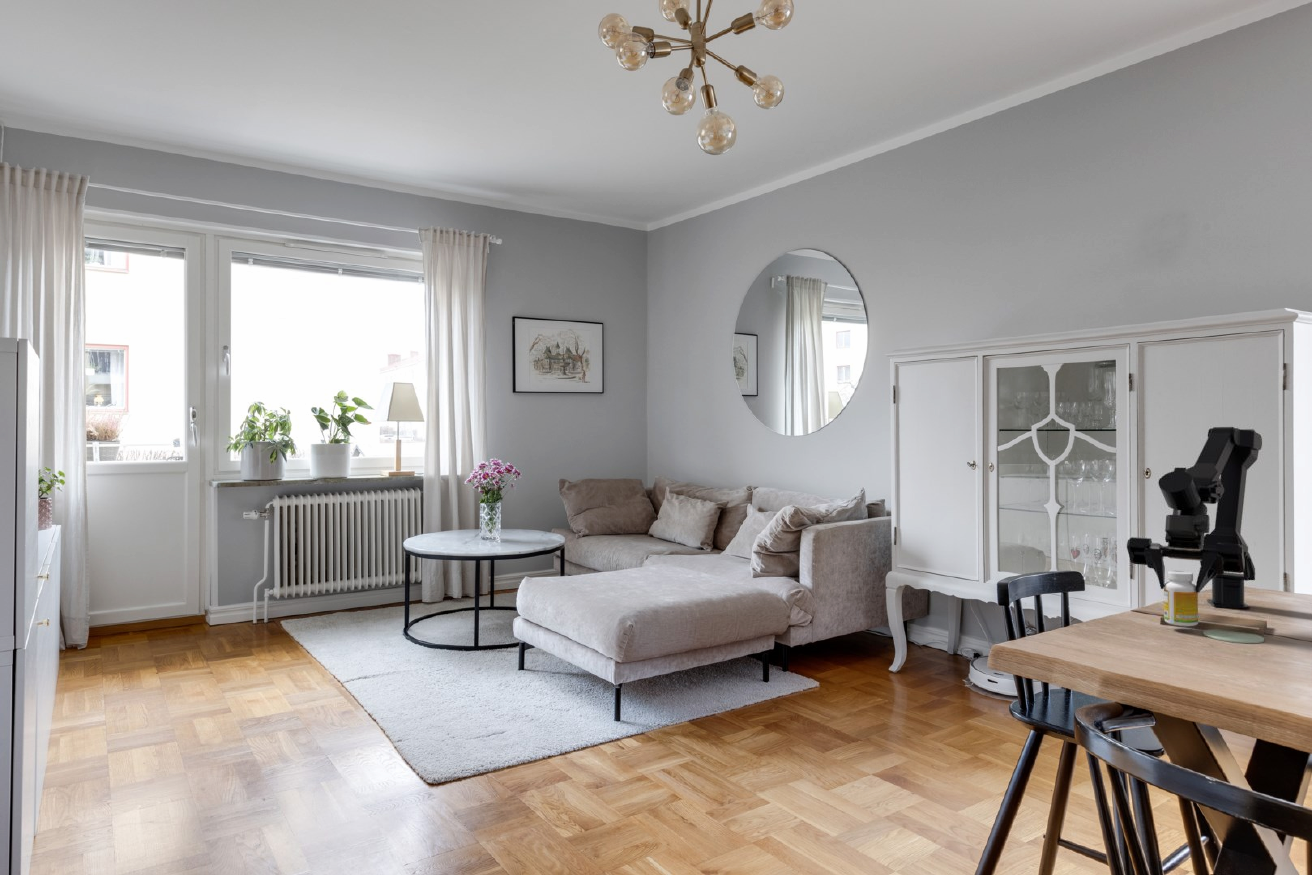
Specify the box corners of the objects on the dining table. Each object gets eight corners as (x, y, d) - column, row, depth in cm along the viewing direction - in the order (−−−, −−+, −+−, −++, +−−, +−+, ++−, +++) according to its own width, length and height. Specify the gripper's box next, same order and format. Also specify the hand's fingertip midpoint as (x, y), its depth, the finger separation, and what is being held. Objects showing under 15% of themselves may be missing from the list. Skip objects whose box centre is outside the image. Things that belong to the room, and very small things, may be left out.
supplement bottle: (1204, 624, 151) (1204, 573, 151) (1185, 627, 149) (1184, 575, 149) (1177, 618, 156) (1176, 569, 156) (1157, 621, 154) (1157, 571, 154)
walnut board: (1160, 623, 157) (1160, 617, 157) (1169, 615, 165) (1169, 609, 165) (1262, 636, 147) (1262, 629, 147) (1267, 627, 154) (1266, 620, 154)
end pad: (1198, 629, 153) (1198, 627, 153) (1255, 633, 149) (1255, 631, 149) (1210, 640, 144) (1210, 638, 144) (1271, 645, 141) (1271, 642, 141)
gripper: (1128, 497, 161) (1116, 558, 153) (1242, 501, 149) (1236, 568, 141) (1136, 532, 167) (1125, 593, 159) (1247, 538, 155) (1241, 605, 147)
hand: (1179, 589), depth 151 cm, fingers closed on supplement bottle, 5 cm apart
